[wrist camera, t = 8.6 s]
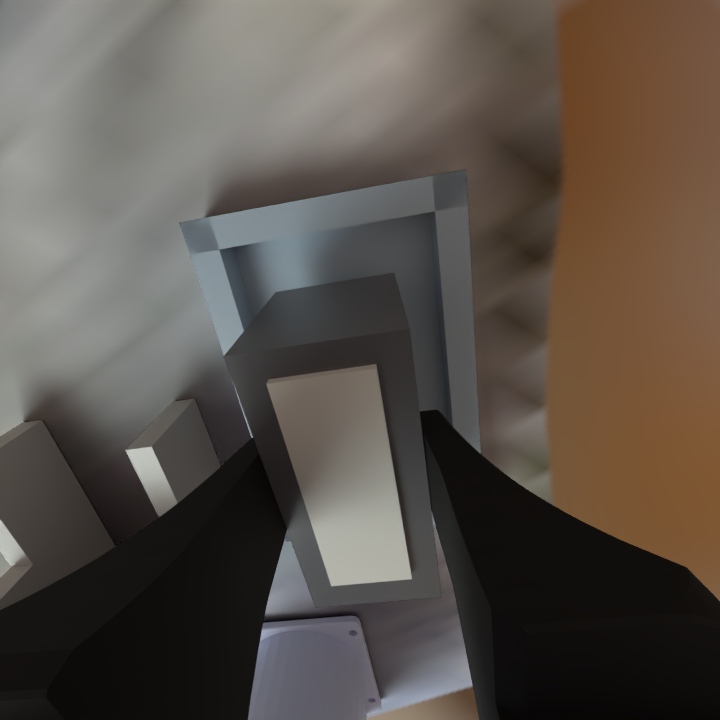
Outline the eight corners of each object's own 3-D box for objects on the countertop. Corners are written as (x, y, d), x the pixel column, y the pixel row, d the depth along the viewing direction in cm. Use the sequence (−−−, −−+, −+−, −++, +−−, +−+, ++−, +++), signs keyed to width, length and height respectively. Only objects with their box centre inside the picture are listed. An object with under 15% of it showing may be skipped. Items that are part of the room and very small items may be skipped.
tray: (473, 491, 18) (484, 521, 16) (293, 511, 19) (286, 541, 17) (453, 173, 13) (466, 169, 11) (202, 219, 13) (179, 222, 12)
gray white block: (420, 479, 16) (442, 603, 11) (329, 489, 16) (314, 614, 12) (394, 272, 12) (411, 331, 7) (275, 292, 12) (220, 360, 8)
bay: (251, 545, 20) (190, 721, 13) (105, 559, 21) (-23, 733, 14) (194, 398, 16) (72, 535, 10) (22, 422, 17) (-203, 565, 10)
